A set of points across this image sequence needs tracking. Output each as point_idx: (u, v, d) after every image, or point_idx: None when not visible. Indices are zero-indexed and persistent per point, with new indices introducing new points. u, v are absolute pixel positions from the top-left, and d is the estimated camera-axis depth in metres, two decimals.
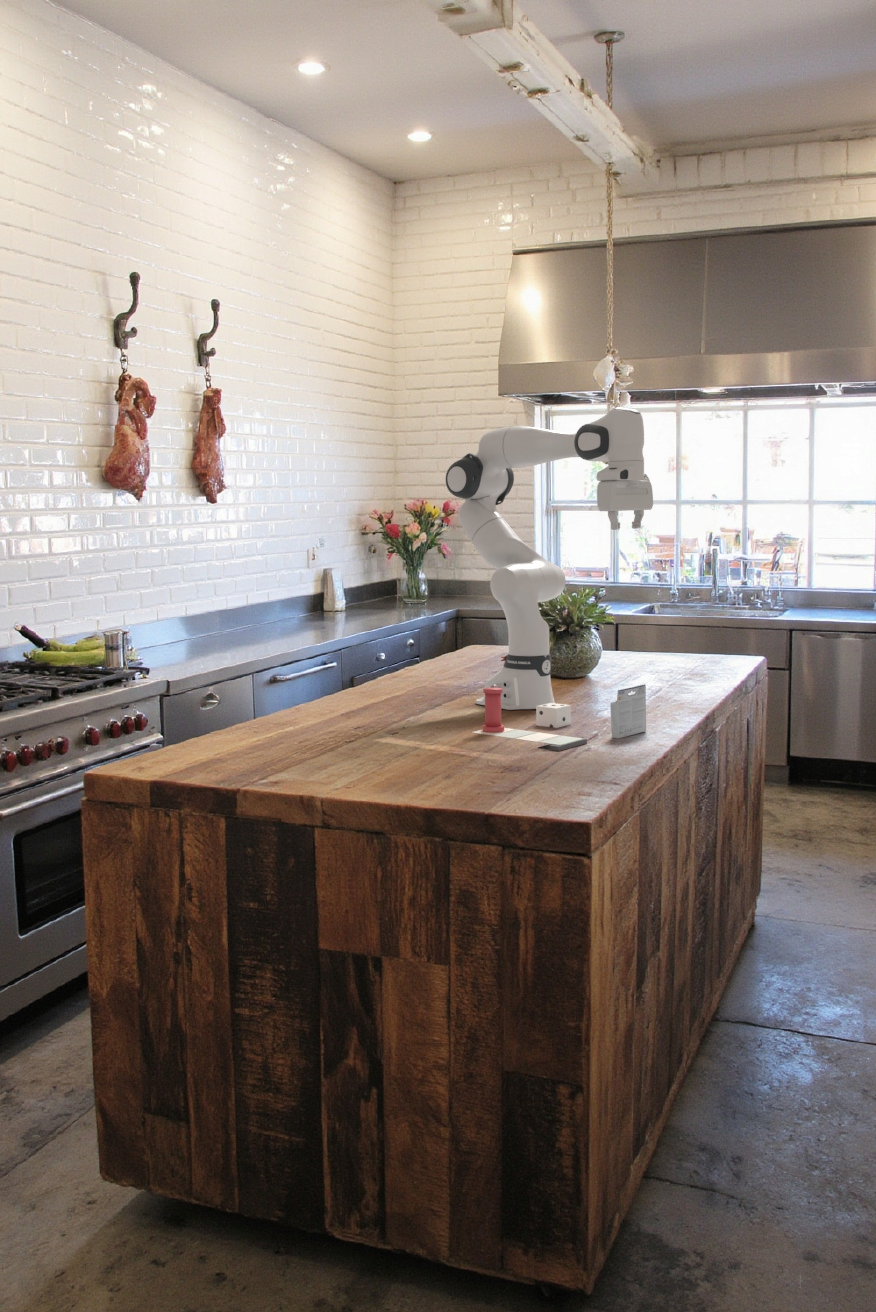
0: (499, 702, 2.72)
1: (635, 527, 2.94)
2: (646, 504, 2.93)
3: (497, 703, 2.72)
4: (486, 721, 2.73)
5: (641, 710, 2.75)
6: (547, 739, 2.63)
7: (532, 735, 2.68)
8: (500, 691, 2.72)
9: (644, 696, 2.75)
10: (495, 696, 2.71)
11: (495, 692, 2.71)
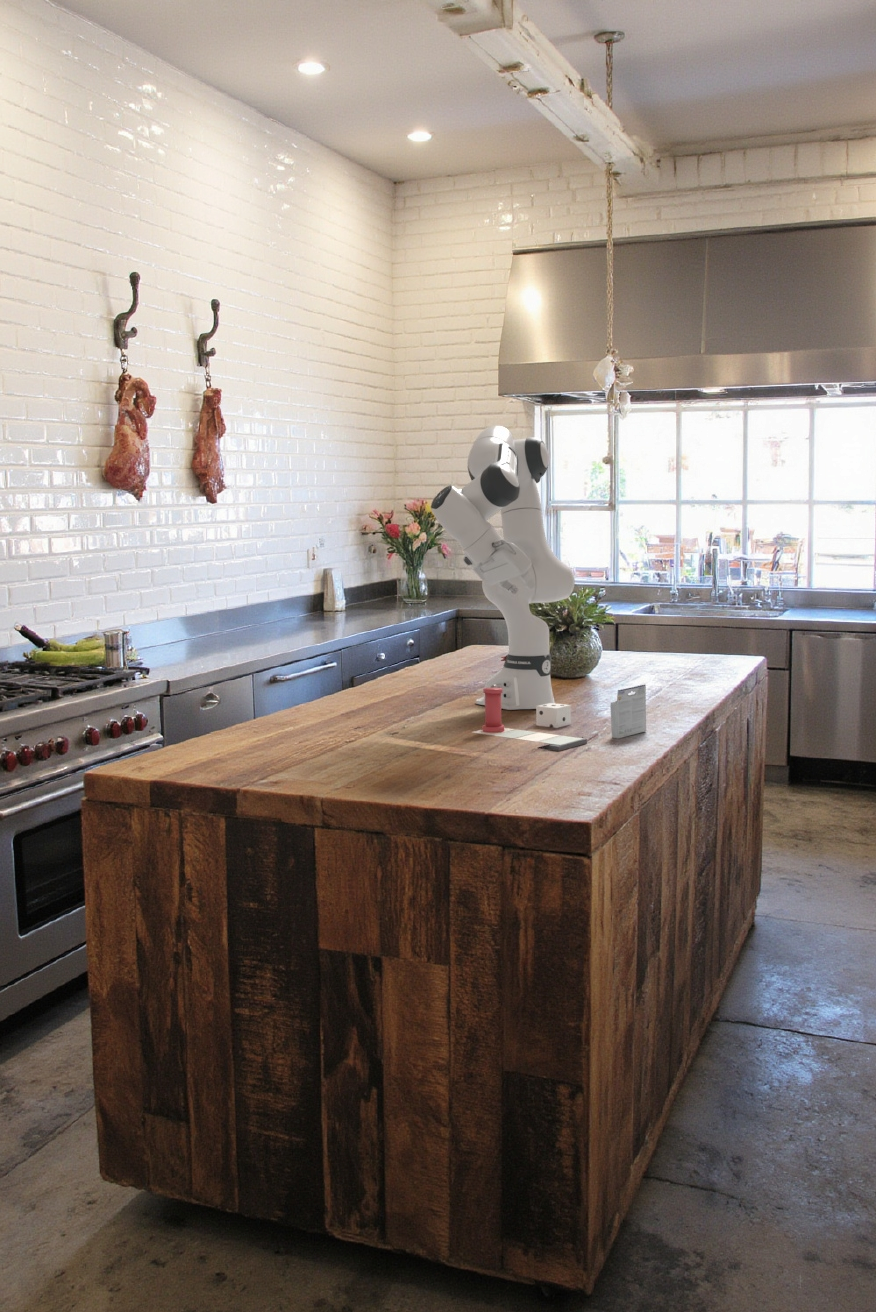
0: (499, 702, 2.72)
1: None
2: (513, 572, 2.64)
3: (497, 703, 2.72)
4: (486, 721, 2.73)
5: (641, 710, 2.75)
6: (547, 739, 2.63)
7: (532, 735, 2.68)
8: (500, 691, 2.72)
9: (644, 696, 2.75)
10: (495, 696, 2.71)
11: (495, 692, 2.71)
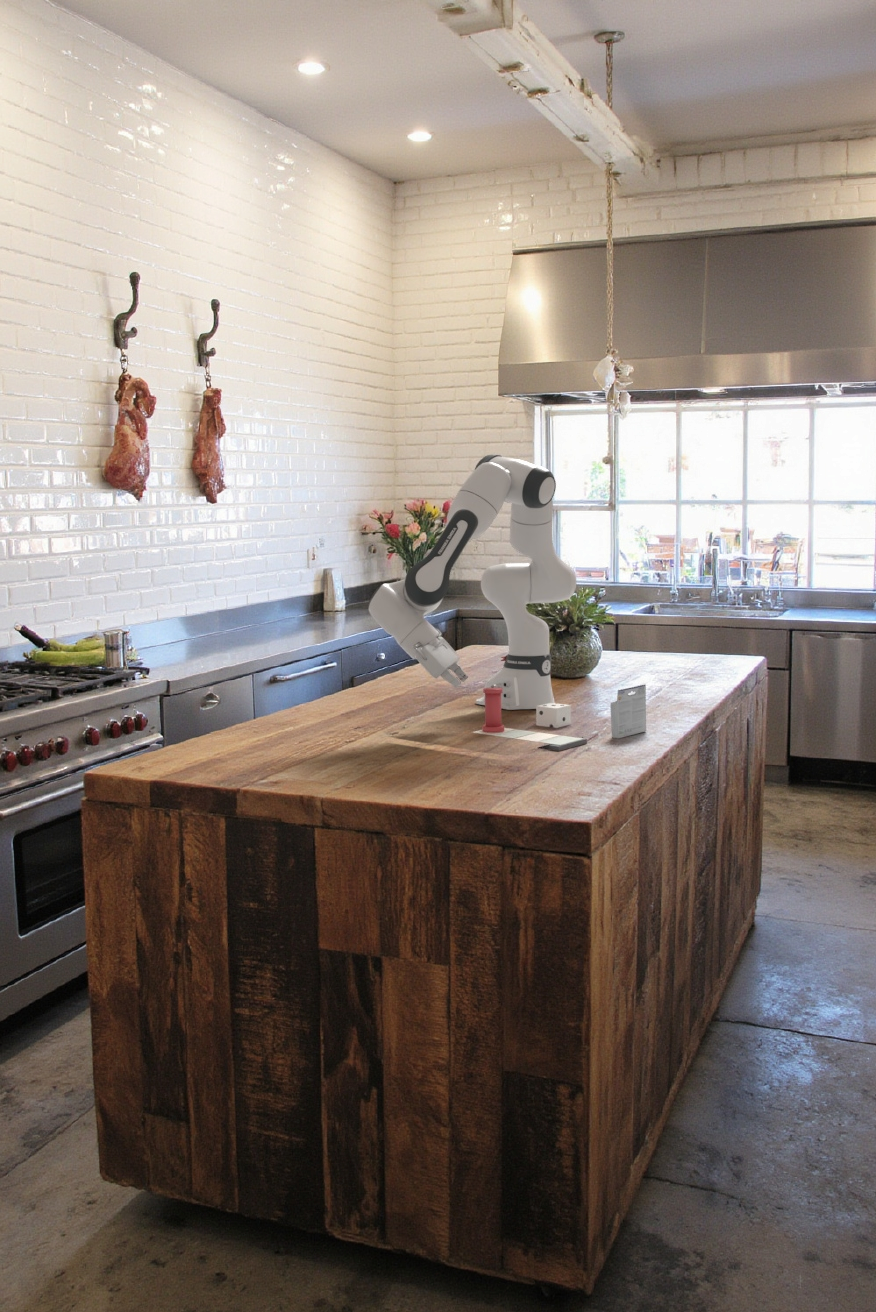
0: (499, 702, 2.72)
1: None
2: None
3: (497, 703, 2.72)
4: (486, 721, 2.73)
5: (641, 710, 2.75)
6: (547, 739, 2.63)
7: (532, 735, 2.68)
8: (500, 691, 2.72)
9: (644, 696, 2.75)
10: (495, 696, 2.71)
11: (495, 692, 2.71)
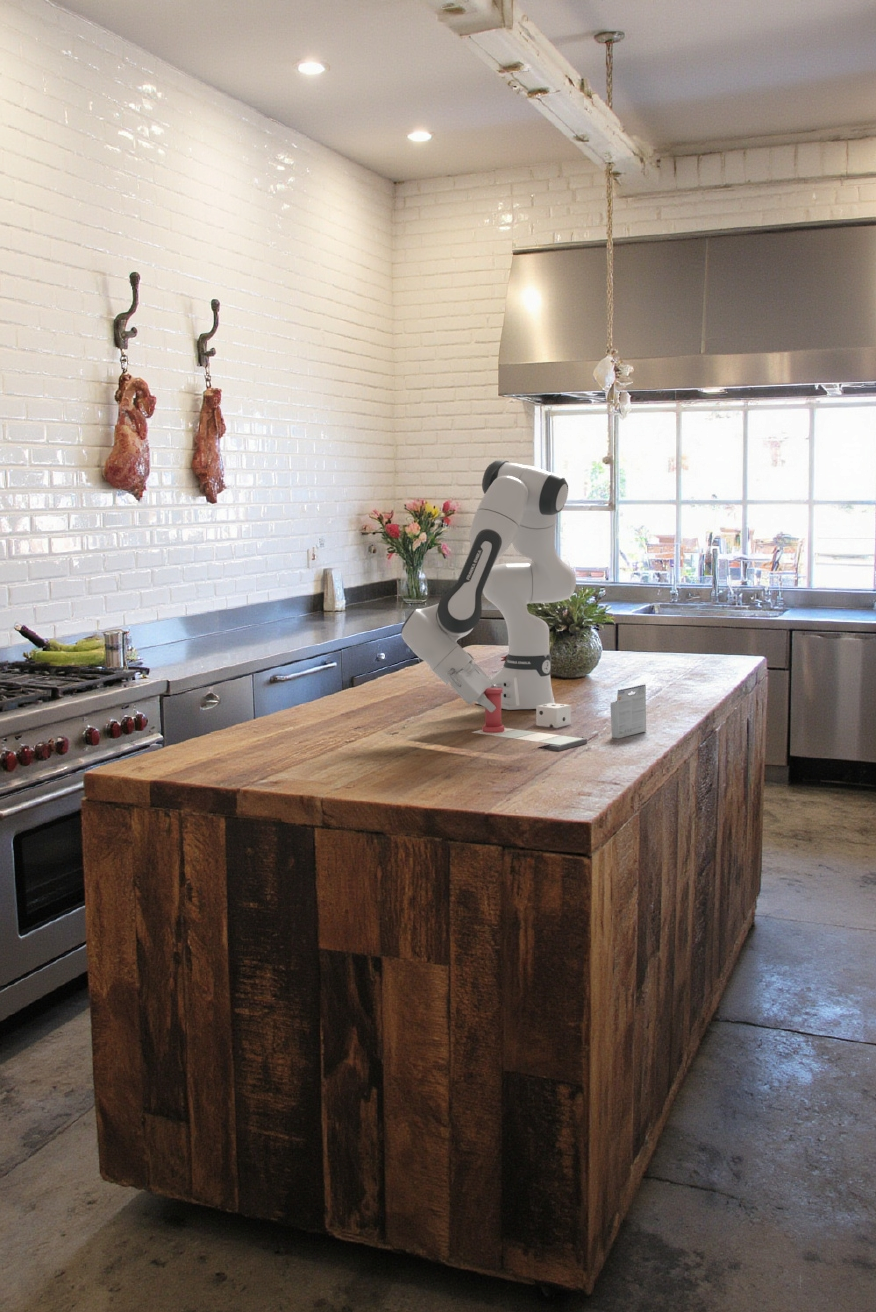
0: (499, 702, 2.72)
1: None
2: None
3: (497, 703, 2.72)
4: (486, 721, 2.73)
5: (641, 710, 2.75)
6: (547, 739, 2.63)
7: (532, 735, 2.68)
8: (500, 691, 2.72)
9: (644, 696, 2.75)
10: (495, 696, 2.71)
11: (495, 692, 2.71)
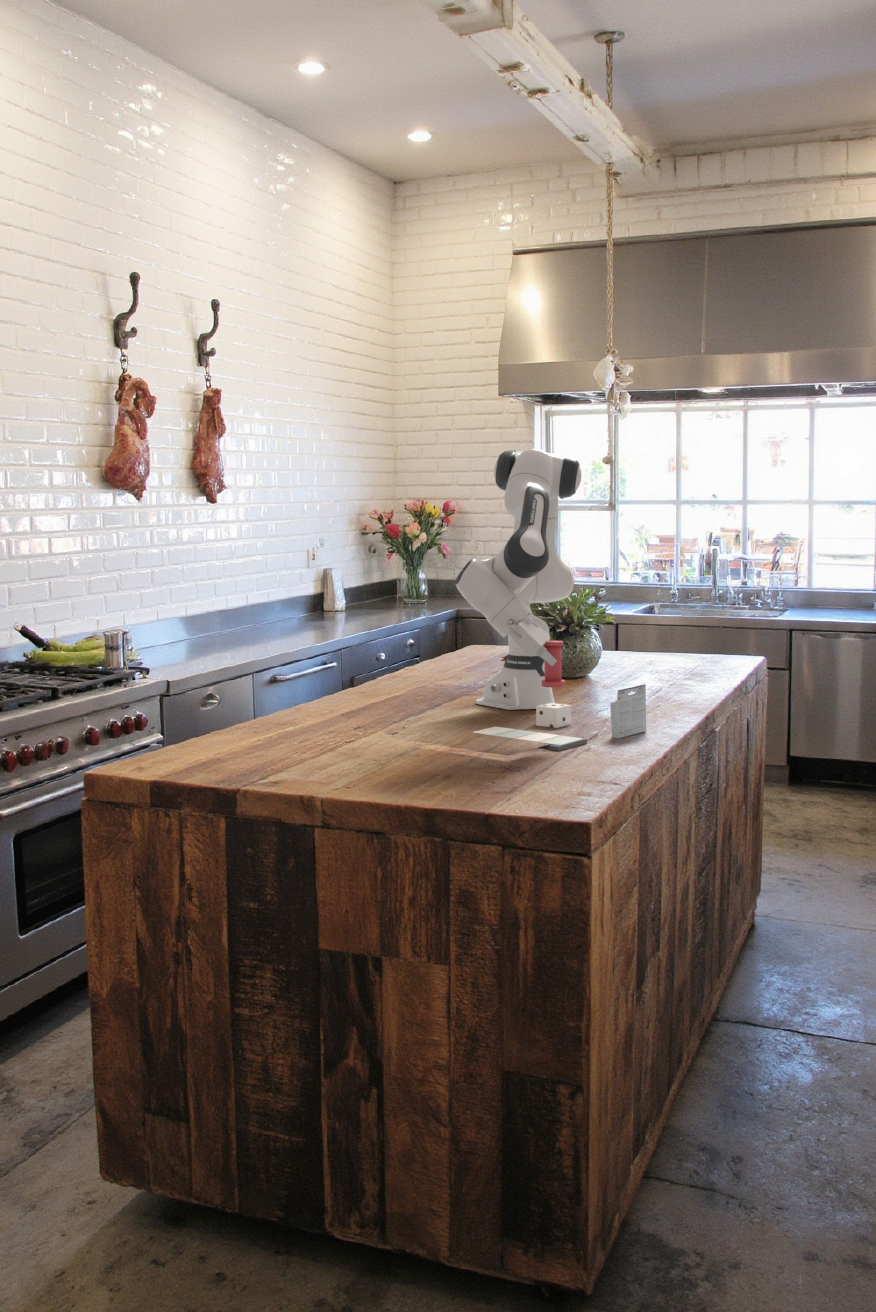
0: (560, 655, 2.59)
1: None
2: None
3: (558, 656, 2.59)
4: (546, 675, 2.60)
5: (641, 710, 2.75)
6: (547, 739, 2.63)
7: (532, 735, 2.68)
8: (561, 644, 2.58)
9: (644, 696, 2.75)
10: (555, 648, 2.58)
11: (556, 644, 2.58)
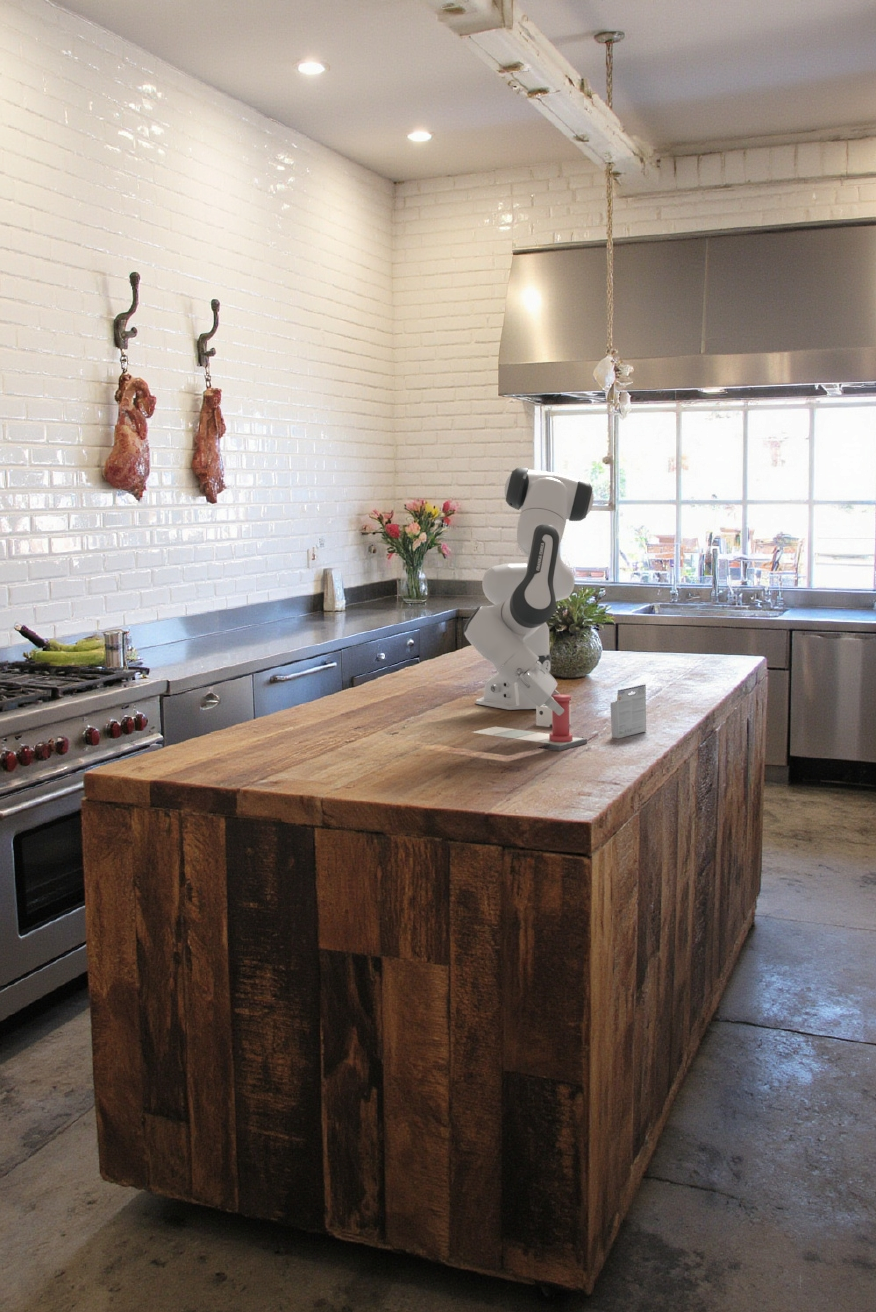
0: (567, 710, 2.60)
1: None
2: None
3: (566, 711, 2.59)
4: (553, 730, 2.60)
5: (641, 710, 2.75)
6: (547, 739, 2.63)
7: (532, 735, 2.68)
8: (568, 699, 2.59)
9: (644, 696, 2.75)
10: (563, 703, 2.59)
11: (563, 700, 2.58)
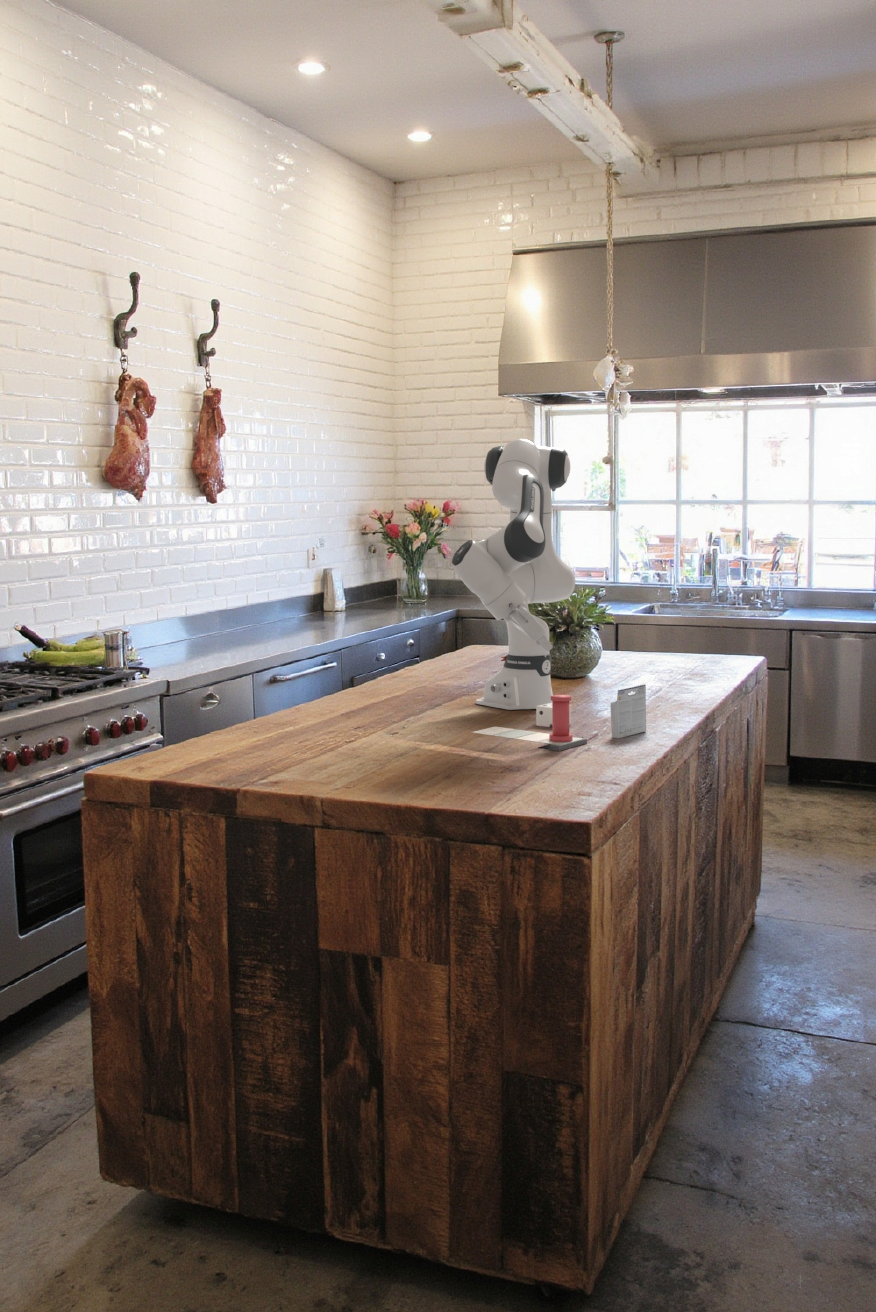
0: (567, 710, 2.60)
1: None
2: (528, 636, 2.59)
3: (566, 711, 2.59)
4: (554, 730, 2.60)
5: (641, 710, 2.75)
6: (547, 739, 2.63)
7: (532, 735, 2.68)
8: (569, 699, 2.59)
9: (644, 696, 2.75)
10: (563, 703, 2.59)
11: (564, 700, 2.58)
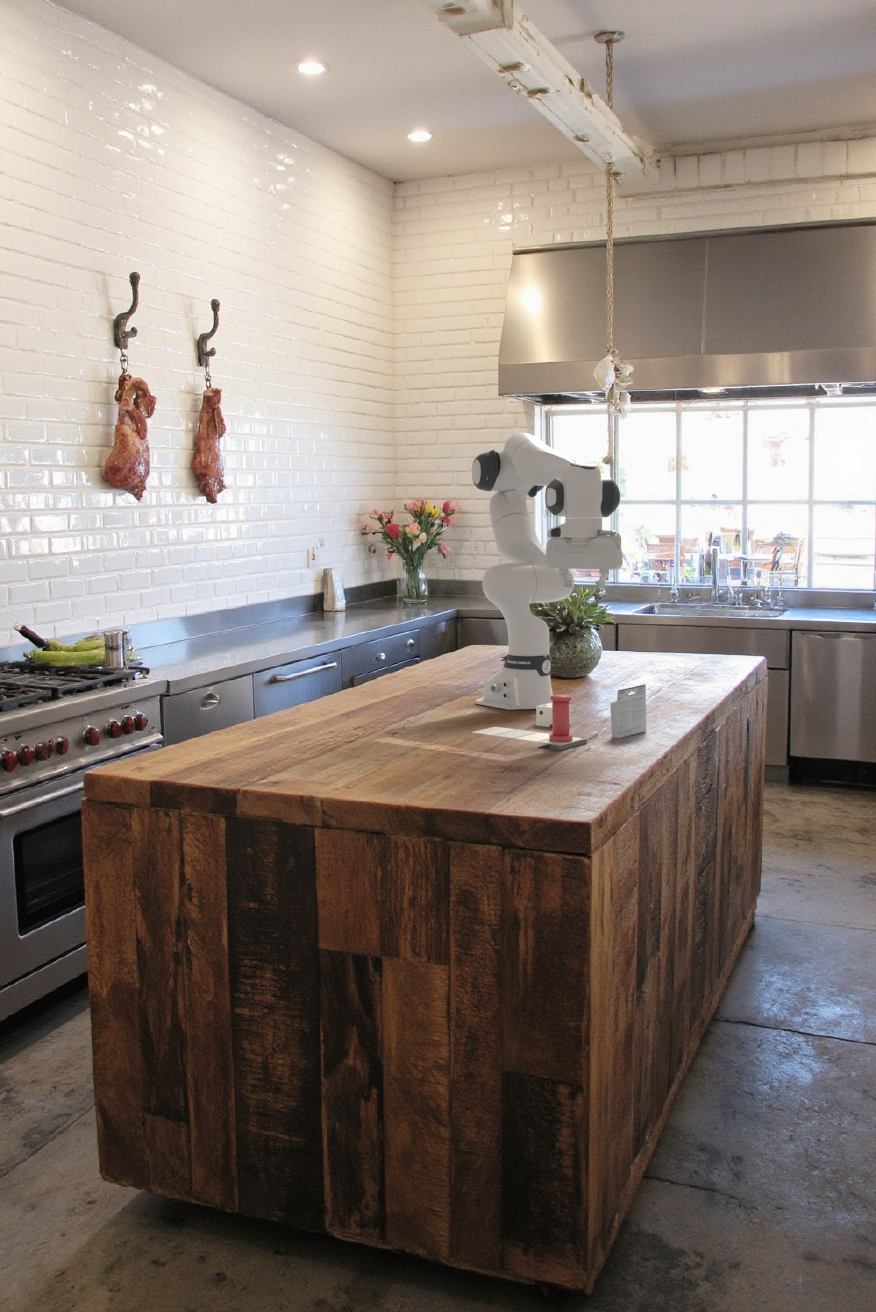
0: (567, 710, 2.60)
1: None
2: (601, 563, 2.74)
3: (566, 711, 2.59)
4: (554, 730, 2.60)
5: (641, 710, 2.75)
6: (547, 739, 2.63)
7: (532, 735, 2.68)
8: (569, 699, 2.59)
9: (644, 696, 2.75)
10: (563, 703, 2.59)
11: (564, 700, 2.58)
